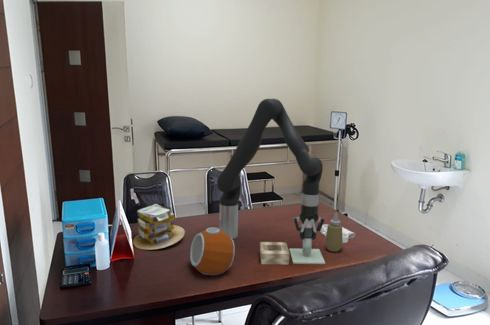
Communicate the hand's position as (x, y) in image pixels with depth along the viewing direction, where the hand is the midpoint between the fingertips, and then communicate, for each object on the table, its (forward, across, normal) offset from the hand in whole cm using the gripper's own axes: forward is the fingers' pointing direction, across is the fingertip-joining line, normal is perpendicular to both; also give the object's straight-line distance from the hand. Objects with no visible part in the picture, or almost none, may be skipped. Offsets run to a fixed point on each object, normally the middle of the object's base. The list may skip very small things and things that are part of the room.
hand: (307, 239), depth 177 cm
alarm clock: (+9, -42, -12) cm, 45 cm away
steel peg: (+6, 0, 0) cm, 6 cm away
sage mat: (+8, 0, 0) cm, 8 cm away
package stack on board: (+9, -70, +16) cm, 72 cm away
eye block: (+8, -15, -2) cm, 17 cm away
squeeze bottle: (+9, +14, +8) cm, 18 cm away
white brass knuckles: (+9, +20, +25) cm, 33 cm away
